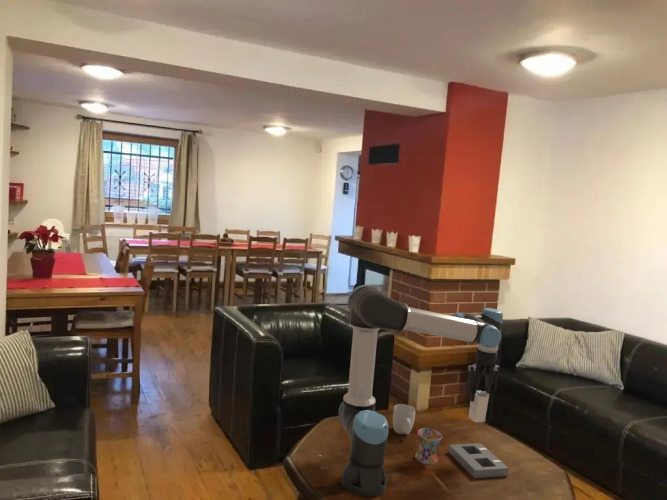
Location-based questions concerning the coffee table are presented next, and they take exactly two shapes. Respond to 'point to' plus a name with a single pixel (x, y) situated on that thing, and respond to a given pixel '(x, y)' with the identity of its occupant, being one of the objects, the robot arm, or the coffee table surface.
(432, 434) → the mug
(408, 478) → the coffee table surface
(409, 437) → the coffee table surface
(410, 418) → the mug
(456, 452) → the panel
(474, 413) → the plug
